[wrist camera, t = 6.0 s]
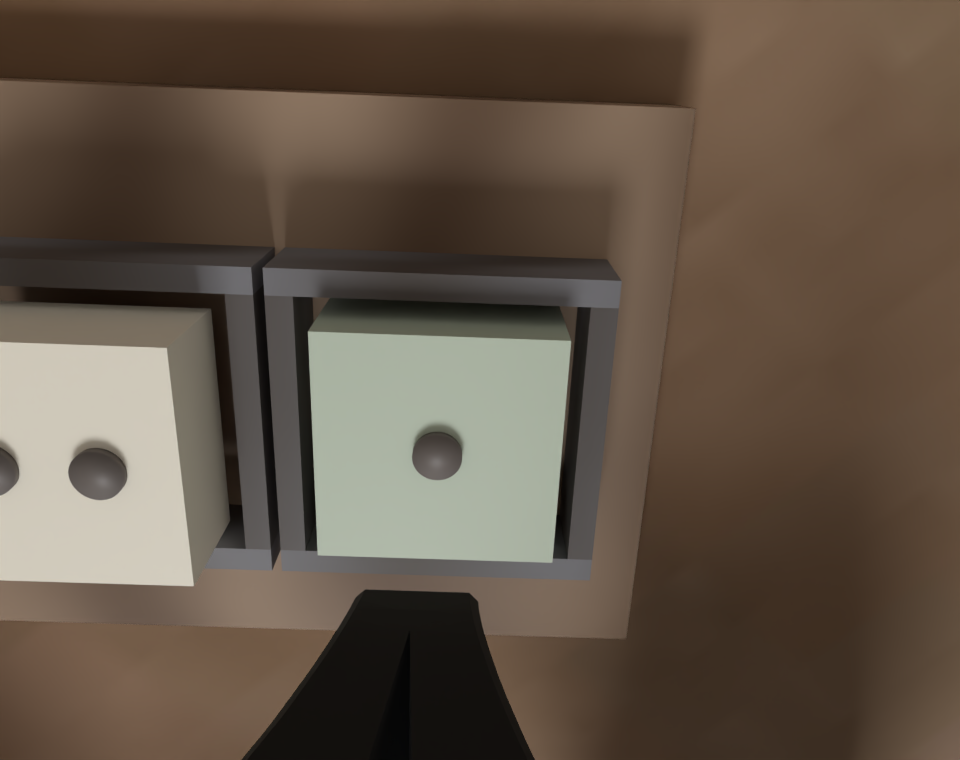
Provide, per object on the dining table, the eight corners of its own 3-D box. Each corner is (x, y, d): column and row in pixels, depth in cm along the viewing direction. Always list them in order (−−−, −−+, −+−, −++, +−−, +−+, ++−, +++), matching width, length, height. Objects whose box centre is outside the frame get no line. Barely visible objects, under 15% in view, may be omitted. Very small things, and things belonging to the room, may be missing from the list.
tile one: (559, 305, 16) (572, 344, 13) (543, 504, 17) (552, 567, 15) (330, 297, 15) (306, 334, 13) (336, 497, 17) (316, 560, 15)
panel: (676, 105, 16) (722, 113, 13) (616, 599, 20) (639, 691, 17) (-439, 59, 15) (-656, 57, 12) (-253, 572, 20) (-383, 661, 17)
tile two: (211, 308, 14) (163, 351, 12) (230, 520, 16) (190, 591, 14) (-37, 300, 14) (-130, 341, 12) (8, 513, 16) (-67, 583, 14)
